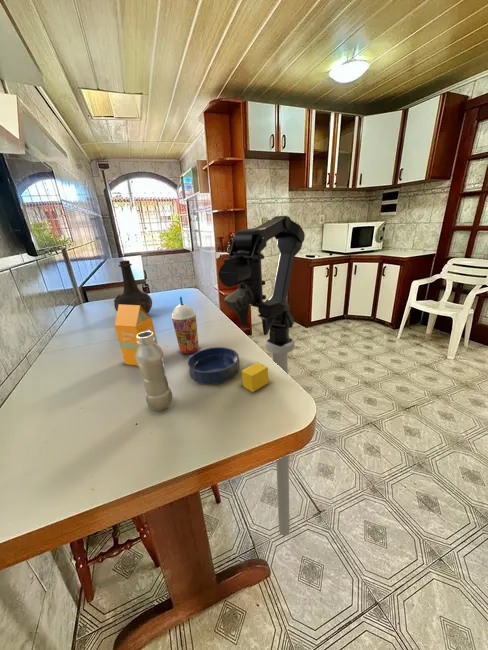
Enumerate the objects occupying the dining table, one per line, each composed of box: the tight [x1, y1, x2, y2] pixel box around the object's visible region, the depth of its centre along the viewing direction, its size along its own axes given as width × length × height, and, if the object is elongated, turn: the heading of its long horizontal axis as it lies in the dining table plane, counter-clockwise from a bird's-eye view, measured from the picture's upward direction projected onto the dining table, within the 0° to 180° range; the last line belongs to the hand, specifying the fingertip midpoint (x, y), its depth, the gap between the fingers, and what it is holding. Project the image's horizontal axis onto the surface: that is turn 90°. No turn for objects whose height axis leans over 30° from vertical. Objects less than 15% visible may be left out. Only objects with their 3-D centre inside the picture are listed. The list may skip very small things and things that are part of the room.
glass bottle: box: [113, 260, 153, 314], centre depth 132 cm, size 18×18×28 cm
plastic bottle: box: [135, 331, 174, 412], centre depth 65 cm, size 6×7×20 cm
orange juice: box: [113, 304, 158, 367], centre depth 88 cm, size 8×9×20 cm
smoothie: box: [170, 296, 199, 354], centre depth 93 cm, size 8×8×20 cm
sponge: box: [241, 362, 269, 393], centre depth 73 cm, size 6×4×5 cm, turn 131°
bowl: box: [187, 346, 241, 385], centre depth 81 cm, size 15×15×4 cm
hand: (254, 330), depth 79 cm, fingers open, 9 cm apart
